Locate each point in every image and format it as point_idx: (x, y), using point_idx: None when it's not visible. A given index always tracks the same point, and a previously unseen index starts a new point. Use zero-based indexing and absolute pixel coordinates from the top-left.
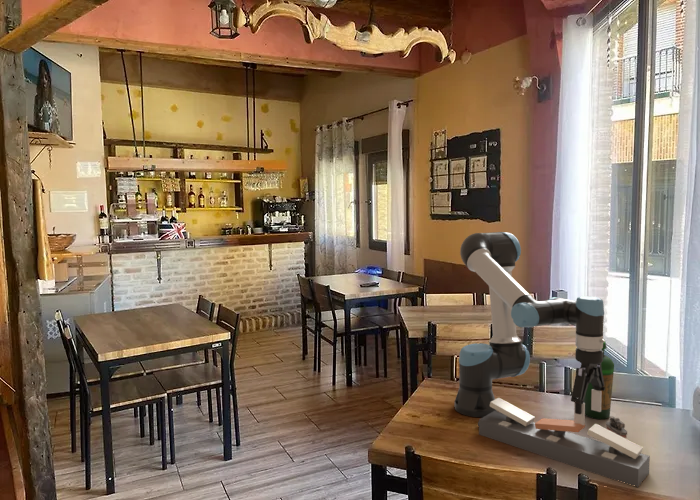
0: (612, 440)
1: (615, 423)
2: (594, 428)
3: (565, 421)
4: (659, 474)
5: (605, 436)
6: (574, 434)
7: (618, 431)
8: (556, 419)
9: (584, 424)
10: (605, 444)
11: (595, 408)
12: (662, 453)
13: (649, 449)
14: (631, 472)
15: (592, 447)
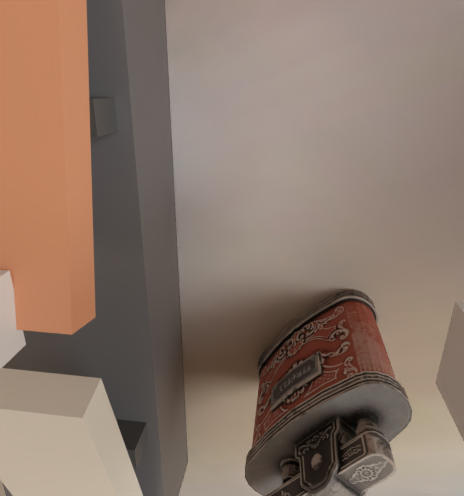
0: (15, 486)
1: (302, 472)
2: (3, 421)
3: (15, 168)
4: (206, 485)
5: (4, 465)
6: (129, 202)
7: (248, 464)
8: (52, 46)
9: (24, 345)
10: (134, 381)
11: (457, 357)
12: (420, 485)
13: (434, 445)
14: None
15: (42, 339)
